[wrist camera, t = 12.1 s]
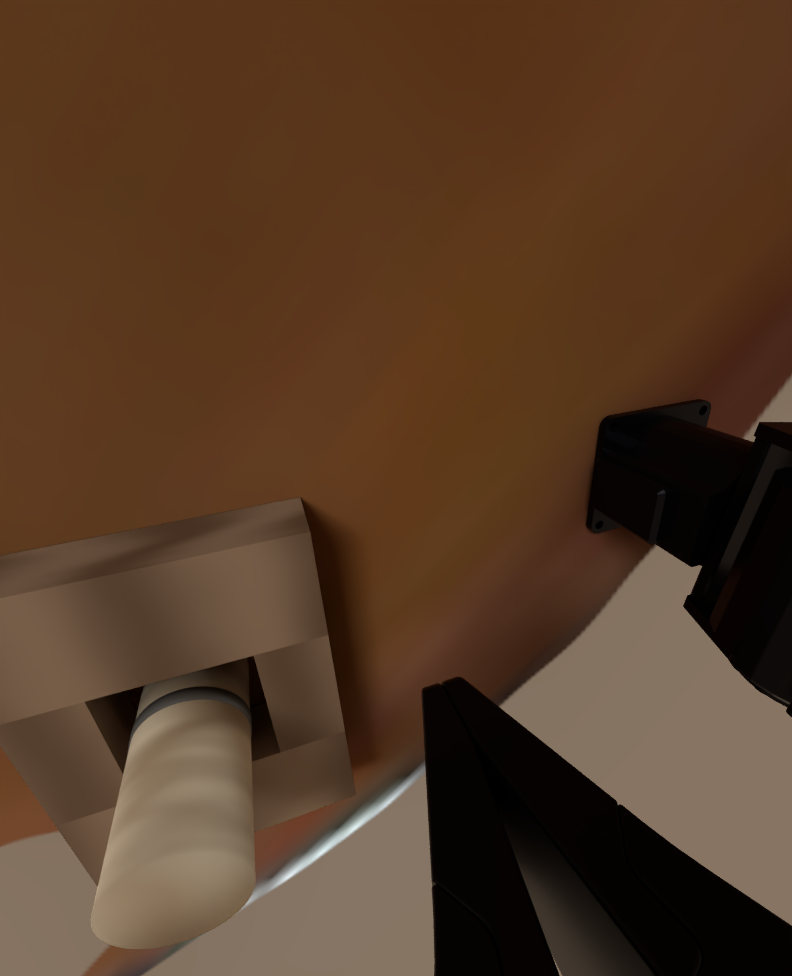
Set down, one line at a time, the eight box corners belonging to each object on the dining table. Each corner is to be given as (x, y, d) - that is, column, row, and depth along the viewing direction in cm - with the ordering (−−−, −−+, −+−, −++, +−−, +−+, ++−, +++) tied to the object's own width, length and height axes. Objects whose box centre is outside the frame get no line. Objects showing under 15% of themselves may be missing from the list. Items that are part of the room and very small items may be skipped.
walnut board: (300, 497, 19) (310, 531, 17) (344, 743, 26) (356, 795, 24) (-37, 563, 16) (-89, 617, 14) (114, 820, 23) (99, 889, 21)
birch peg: (238, 623, 21) (239, 830, 13) (258, 692, 23) (269, 907, 15) (130, 650, 20) (62, 895, 12) (161, 720, 22) (119, 968, 14)
